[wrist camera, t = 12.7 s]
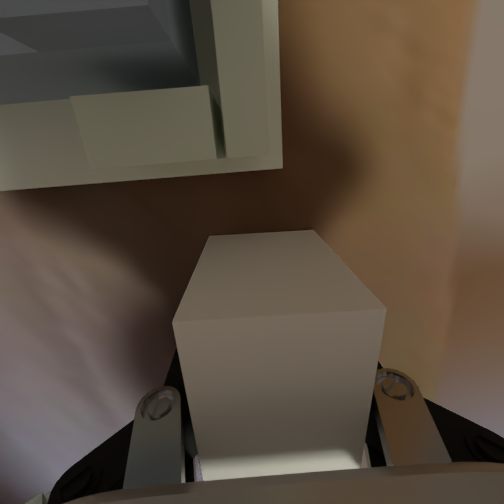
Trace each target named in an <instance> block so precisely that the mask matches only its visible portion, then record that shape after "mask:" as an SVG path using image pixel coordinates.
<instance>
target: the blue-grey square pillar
mask: <svg viewBox="0 0 504 504" xmlns="http://www.w3.org/2000/svg"><path fill="white" fill-rule="evenodd" d="M193 86H200V78H199V71H198V63H197V56H196V48H195V41H194V33H193V26H192V18H191V10H190V3H189V0H0V105H4V104H15V103H27V102H38V101H50V100H61V99H70V96H80V95H93V94H105V93H118V92H130V91H143V90H155V89H168V88H180V87H193Z"/></svg>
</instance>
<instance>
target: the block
mask: <svg viewBox="0 0 504 504" xmlns="http://www.w3.org/2000/svg"><path fill="white" fill-rule="evenodd" d="M386 310H387V308H386V307H385V306H384V305H383V304H382V303H381V302H380V301H379V300H378V299H377V298H376V297H375V296H374V294H373V293H372V292H371V291H370V290H369V289H368V288H367V287H366V286H365V285H364V284H363V283H362V282H361V280H360V279H359V278H358V277H357V276H356V275H355V274H354V273H353V272H352V271H351V270H350V269H349V268H348V266H347V265H346V264H345V263H344V262H343V261H342V260H341V259H340V258H339V257H338V256H337V255H336V254H335V252H334V251H333V250H332V249H331V248H330V247H329V246H328V245H327V244H326V243H325V242H324V241H323V240H322V238H321V237H320V236H319V235H318V234H317V233H316V232H315V231H314V230H301V231H284V232H267V233H249V234H232V235H215V236H209V237H208V240H207V242H206V244H205V247H204V249H203V251H202V254H201V256H200V258H199V260H198V263H197V265H196V267H195V270H194V272H193V274H192V277H191V279H190V281H189V284H188V286H187V288H186V291H185V293H184V295H183V297H182V300H181V302H180V304H179V307H178V309H177V311H176V314H175V316H174V318H173V321H172V325H173V330H174V335H175V340H176V345H177V350H178V355H179V360H180V365H181V370H182V375H183V380H184V385H185V390H186V395H187V400H188V405H189V410H190V415H191V420H192V425H193V430H194V435H195V440H196V445H197V450H198V456H199V461H200V466H201V471H202V476H203V481H210V480H222V479H233V478H245V477H257V476H269V475H281V474H294V473H306V472H319V471H331V470H344V469H358V468H361V462H362V456H363V450H364V444H365V438H366V432H367V426H368V419H369V413H370V407H371V401H372V395H373V389H374V383H375V377H376V371H377V365H378V359H379V353H380V347H381V341H382V335H383V329H384V323H385V317H386Z"/></svg>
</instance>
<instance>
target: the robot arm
mask: <svg viewBox="0 0 504 504" xmlns="http://www.w3.org/2000/svg"><path fill="white" fill-rule="evenodd" d="M364 450H365V455H366V461H367V466H368V468H358V469H344V470H331V471H319V472H306V473H294V474H281V475H269V476H257V477H245V478H233V479H222V480H210V481H199V482H197V481H196V464H195V456H196V455H197V454H198V450H197V445H196V440H195V435H194V430H193V425H192V420H191V415H190V410H189V405H188V400H187V395H186V390H185V385H184V380H183V375H182V370H181V365H180V360H179V355H178V350H177V348H176V351H175V354H174V357H173V360H172V363H171V366H170V369H169V371H168V374H167V377H166V380H165V383H164V386H161V387H158V388H155V389H153V390H151V391H150V392H148V393H147V394H146V395H145V396H144V397H143V398H142V399H141V400H140V402H139V403H138V405H137V408H136V412H135V418H134V420H133V421H131V422H130V423H129V424H127V425H126V426H125V427H123V428H122V429H121V430H119V431H118V432H117V433H115V434H114V435H113V436H111V437H110V438H109V439H107V440H106V441H105V442H103V443H102V444H101V445H99V446H98V447H97V448H95V449H94V450H93V451H91V452H90V453H89V454H88V455H86V456H85V457H84V458H82V459H81V460H80V461H78V462H77V463H76V464H74V465H73V466H72V467H71V468H69V469H68V470H67V471H66V472H65V473H64V474H63V475H62V476H61V477H60V479H59V480H58V481H57V482H56V484H55V486H54V487H53V489H52V491H51V492H49V493H48V494H46V495H45V496H44V494H43V493H40V494H39V495H37V496H36V497H34V498H32V499H31V500H29V501H28V502H26V503H25V504H504V438H502V437H501V436H499V435H497V434H496V433H494V432H492V431H490V430H488V429H486V428H484V427H482V426H480V425H478V424H475V423H474V422H472V421H470V420H468V419H466V418H464V417H462V416H460V415H457V414H456V413H453V412H451V411H449V410H447V409H445V408H443V407H441V406H439V405H437V404H435V403H433V402H431V401H429V400H427V399H425V398H423V396H422V394H421V392H420V390H419V388H418V386H417V384H416V383H415V382H414V381H413V380H412V379H411V378H410V377H409V376H407V375H406V374H404V373H403V372H400V371H398V370H395V369H390V368H383V367H382V366H381V364H380V363H379V361H378V365H377V371H376V377H375V383H374V389H373V395H372V401H371V407H370V413H369V419H368V426H367V432H366V438H365V444H364Z"/></svg>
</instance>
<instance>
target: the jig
mask: <svg viewBox="0 0 504 504" xmlns="http://www.w3.org/2000/svg"><path fill="white" fill-rule="evenodd" d="M189 3H190V10H191V18H192V26H193V33H194V41H195V48H196V56H197V63H198V71H199V78H200V86H193V87H180V88H168V89H155V90H143V91H130V92H118V93H105V94H93V95H80V96H70V99H61V100H50V101H38V102H27V103H15V104H4V105H0V191H7V190H20V189H32V188H45V187H57V186H69V185H82V184H94V183H107V182H119V181H132V180H144V179H156V178H169V177H181V176H194V175H206V174H219V173H231V172H243V171H256V170H268V169H281V168H283V158H282V124H281V90H280V57H279V23H278V0H189Z"/></svg>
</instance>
